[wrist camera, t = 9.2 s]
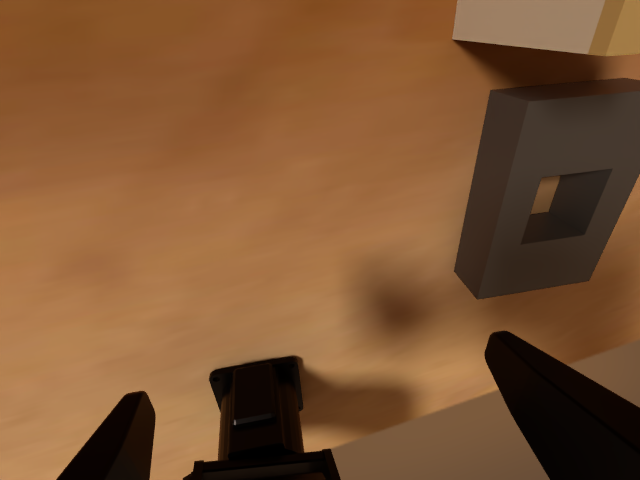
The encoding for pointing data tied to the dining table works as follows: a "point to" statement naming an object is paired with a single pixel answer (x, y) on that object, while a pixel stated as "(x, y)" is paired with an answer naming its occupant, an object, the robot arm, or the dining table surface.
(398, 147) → the dining table surface
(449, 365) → the dining table surface
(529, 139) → the block
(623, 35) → the plug
